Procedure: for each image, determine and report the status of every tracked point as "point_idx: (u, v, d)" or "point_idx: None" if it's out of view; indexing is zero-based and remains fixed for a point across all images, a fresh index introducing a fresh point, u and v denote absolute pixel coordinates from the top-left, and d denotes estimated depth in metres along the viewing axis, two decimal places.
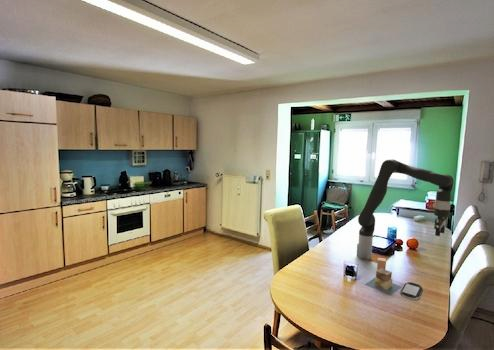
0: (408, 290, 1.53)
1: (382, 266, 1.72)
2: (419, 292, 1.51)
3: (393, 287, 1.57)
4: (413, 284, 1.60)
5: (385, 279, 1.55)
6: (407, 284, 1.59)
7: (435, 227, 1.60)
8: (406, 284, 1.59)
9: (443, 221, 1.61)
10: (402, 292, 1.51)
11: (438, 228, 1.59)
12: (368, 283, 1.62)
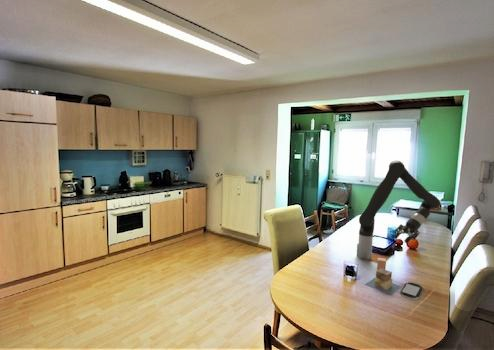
0: (408, 290, 1.53)
1: (382, 266, 1.72)
2: (419, 292, 1.51)
3: (393, 287, 1.57)
4: (413, 284, 1.59)
5: (385, 279, 1.55)
6: (407, 284, 1.59)
7: (413, 236, 1.70)
8: (406, 284, 1.59)
9: (412, 232, 1.76)
10: (402, 292, 1.51)
11: (415, 238, 1.71)
12: (368, 283, 1.62)
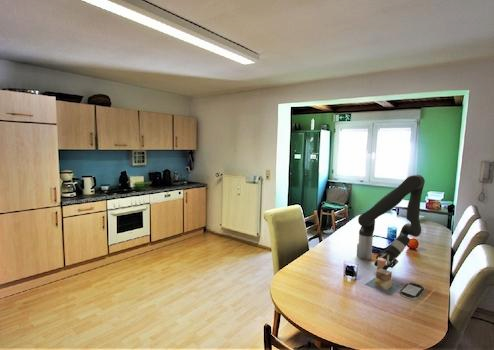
0: (408, 290, 1.53)
1: (382, 266, 1.72)
2: (419, 293, 1.50)
3: (393, 287, 1.57)
4: (415, 285, 1.59)
5: (385, 279, 1.55)
6: (409, 284, 1.59)
7: (391, 265, 1.69)
8: (408, 284, 1.59)
9: (392, 260, 1.74)
10: (401, 292, 1.51)
11: (392, 267, 1.69)
12: (368, 283, 1.62)
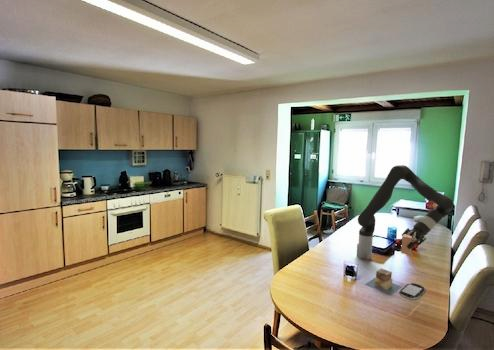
0: (408, 290, 1.53)
1: (407, 243, 1.56)
2: (419, 293, 1.50)
3: (393, 287, 1.57)
4: (416, 285, 1.58)
5: (385, 279, 1.55)
6: (409, 285, 1.59)
7: (417, 242, 1.51)
8: (408, 284, 1.59)
9: (419, 238, 1.56)
10: (401, 291, 1.51)
11: (419, 244, 1.52)
12: (368, 283, 1.62)
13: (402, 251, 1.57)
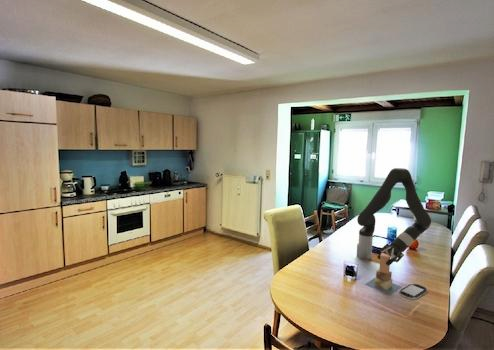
0: (409, 290, 1.53)
1: (385, 262, 1.56)
2: (420, 293, 1.50)
3: (393, 287, 1.57)
4: (418, 286, 1.57)
5: (385, 279, 1.55)
6: (412, 285, 1.58)
7: (396, 259, 1.51)
8: (410, 285, 1.58)
9: None
10: (401, 291, 1.52)
11: (397, 261, 1.51)
12: (368, 283, 1.62)
13: (380, 270, 1.58)
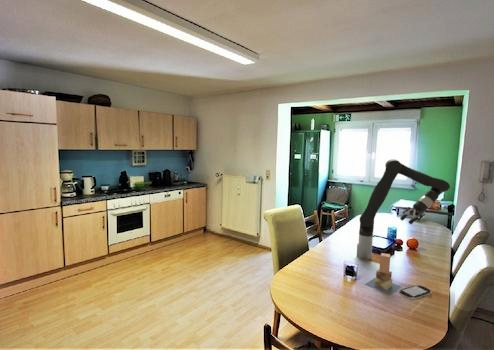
0: (410, 290, 1.53)
1: (385, 262, 1.56)
2: (421, 294, 1.49)
3: (393, 287, 1.57)
4: (423, 288, 1.56)
5: (385, 279, 1.55)
6: (415, 286, 1.57)
7: None
8: (414, 286, 1.57)
9: (418, 214, 1.78)
10: (401, 291, 1.52)
11: (419, 219, 1.73)
12: (368, 283, 1.62)
13: (380, 270, 1.58)
